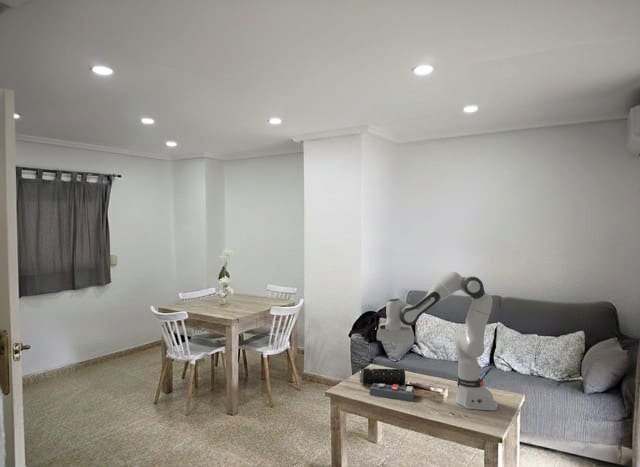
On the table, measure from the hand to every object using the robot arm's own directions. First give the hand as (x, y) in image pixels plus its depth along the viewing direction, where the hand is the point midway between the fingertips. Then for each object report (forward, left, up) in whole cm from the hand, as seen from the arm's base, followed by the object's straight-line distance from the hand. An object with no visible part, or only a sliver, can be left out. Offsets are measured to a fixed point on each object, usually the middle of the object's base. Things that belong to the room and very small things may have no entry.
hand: (393, 349), depth 247 cm
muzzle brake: (+10, -12, -28) cm, 32 cm away
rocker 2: (-10, +2, -22) cm, 24 cm away
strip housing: (+1, +2, -27) cm, 27 cm away
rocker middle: (-1, +2, -22) cm, 22 cm away
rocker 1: (+7, +2, -22) cm, 23 cm away
